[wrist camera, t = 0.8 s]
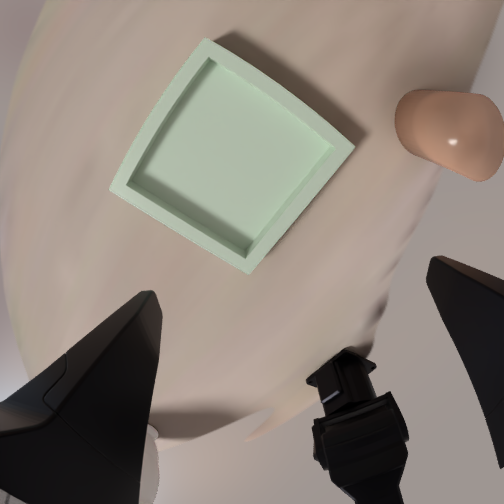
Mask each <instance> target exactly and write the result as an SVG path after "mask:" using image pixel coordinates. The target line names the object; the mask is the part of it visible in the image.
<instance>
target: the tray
mask: <svg viewBox="0 0 504 504" xmlns="http://www.w3.org/2000/svg"><path fill="white" fill-rule="evenodd" d="M354 148H355V146H354V145H353V144H352V143H351V142H350V141H348V140H347V139H346V138H345V137H344V136H343V135H342V134H341V133H340V132H338V131H337V130H336V129H335V128H334V127H333V126H331V125H330V124H329V123H328V122H327V121H326V120H324V119H323V118H322V117H321V116H320V115H318V114H317V113H316V112H315V111H314V110H312V109H311V108H310V107H309V106H307V105H306V104H305V103H303V102H302V101H301V100H300V99H298V98H297V97H296V96H294V95H293V94H292V93H290V92H289V91H288V90H286V89H285V88H284V87H282V86H281V85H280V84H278V83H277V82H275V81H274V80H273V79H271V78H270V77H268V76H267V75H265V74H264V73H262V72H261V71H259V70H258V69H256V68H255V67H253V66H252V65H250V64H249V63H247V62H246V61H244V60H243V59H241V58H239V57H238V56H236V55H235V54H233V53H231V52H230V51H228V50H226V49H225V48H223V47H221V46H220V45H218V44H216V43H214V42H213V41H211V40H209V39H207V38H204V39H203V40H202V41H201V43H200V44H199V45H198V46H197V48H196V49H195V50H194V51H193V53H192V54H191V55H190V57H189V58H188V59H187V61H186V62H185V63H184V65H183V66H182V67H181V69H180V70H179V71H178V73H177V74H176V76H175V77H174V78H173V80H172V81H171V83H170V84H169V86H168V87H167V88H166V90H165V91H164V93H163V94H162V96H161V97H160V99H159V100H158V102H157V103H156V105H155V107H154V108H153V110H152V111H151V113H150V115H149V116H148V118H147V119H146V121H145V123H144V124H143V126H142V128H141V129H140V131H139V133H138V135H137V136H136V138H135V140H134V142H133V143H132V145H131V147H130V149H129V151H128V152H127V154H126V156H125V158H124V160H123V162H122V164H121V166H120V168H119V170H118V172H117V174H116V176H115V178H114V180H113V182H112V184H111V186H110V188H109V191H111V192H113V193H114V194H116V195H117V196H119V197H121V198H122V199H124V200H125V201H127V202H129V203H130V204H132V205H133V206H135V207H137V208H138V209H140V210H141V211H143V212H145V213H146V214H148V215H149V216H151V217H153V218H154V219H156V220H158V221H159V222H161V223H162V224H164V225H166V226H167V227H169V228H171V229H172V230H174V231H176V232H177V233H179V234H180V235H182V236H184V237H185V238H187V239H189V240H190V241H192V242H194V243H195V244H197V245H199V246H200V247H202V248H204V249H205V250H207V251H209V252H210V253H212V254H214V255H215V256H217V257H219V258H220V259H222V260H224V261H225V262H227V263H229V264H230V265H232V266H234V267H236V268H237V269H239V270H241V271H242V272H244V273H246V274H247V275H249V274H250V273H251V272H252V271H253V270H254V268H255V267H256V266H257V265H258V264H259V262H260V261H261V260H262V259H263V258H264V257H265V255H266V254H267V253H268V252H269V251H270V249H271V248H272V247H273V246H274V245H275V243H276V242H277V241H278V240H279V239H280V238H281V236H282V235H283V234H284V233H285V232H286V230H287V229H288V228H289V227H290V226H291V224H292V223H293V222H294V221H295V220H296V218H297V217H298V216H299V215H300V214H301V212H302V211H303V210H304V209H305V208H306V206H307V205H308V204H309V203H310V202H311V200H312V199H313V198H314V197H315V196H316V194H317V193H318V192H319V191H320V190H321V188H322V187H323V186H324V185H325V183H326V182H327V181H328V180H329V179H330V177H331V176H332V175H333V174H334V173H335V171H336V170H337V169H338V168H339V166H340V165H341V164H342V163H343V162H344V160H345V159H346V158H347V157H348V155H349V154H350V153H351V152H352V151H353V149H354Z"/></svg>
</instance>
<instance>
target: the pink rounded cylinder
mask: <svg viewBox="0 0 504 504" xmlns="http://www.w3.org/2000/svg"><path fill="white" fill-rule="evenodd" d="M395 128H396V133H397V136H398V138H399V140H400V142H401V144H402V145H403V146H404V148H405V149H406V150H407V151H409V152H410V153H412V154H413V155H416V156H418V157H421V158H423V159H426V160H428V161H431V162H433V163H436V164H438V165H440V166H443V167H445V168H447V169H450V170H452V171H454V172H456V173H458V174H461V175H463V176H465V177H467V178H469V179H471V180H473V181H477V182H482V181H485V180H488V179H489V178H491V177H492V176H493V175H494V174H495V173H496V172H497V170H498V169H499V167H500V165H501V163H502V160H503V157H504V122H503V119H502V116H501V114H500V111H499V110H498V108H497V106H496V105H495V104H494V103H493V102H492V101H491V100H490V99H489V98H488V97H486V96H484V95H481V94H473V93H463V92H451V91H432V90H414V91H411V92H409V93H407V94H406V95H404V96H403V98H402V99H401V100H400V102H399V104H398V106H397V108H396V112H395Z"/></svg>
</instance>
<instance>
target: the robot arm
mask: <svg viewBox="0 0 504 504" xmlns="http://www.w3.org/2000/svg"><path fill="white" fill-rule="evenodd" d="M426 283H427V286H428V288H429V290H430V292H431V295H432V297H433V299H434V302H435V304H436V306H437V309H438V311H439V313H440V316H441V318H442V320H443V322H444V324H445V326H446V328H447V330H448V332H449V334H450V336H451V338H452V340H453V342H454V344H455V346H456V348H457V350H458V352H459V355H460V357H461V359H462V361H463V363H464V366H465V368H466V370H467V372H468V375H469V377H470V380H471V382H472V384H473V387H474V389H475V392H476V394H477V397H478V400H479V402H480V405H481V408H482V410H483V413H484V416H485V418H486V419H485V420H486V422H487V426H488V429H489V432H490V435H491V438H492V442H493V445H494V449H495V452H496V456H497V460H498V464H499V467H500V469H501V468H503V467H504V280H502V279H500V278H497V277H495V276H493V275H490V274H488V273H485V272H483V271H480V270H478V269H476V268H473V267H470V266H468V265H466V264H463V263H460V262H458V261H455V260H453V259H450V258H447V257H445V256H435V257H432V258H431V260H430V264H429V268H428V272H427V276H426ZM162 319H163V316H162V311H161V308H160V305H159V302H158V299H157V296H156V294H155V292H154V291H153V290H149V291H141V292H139V293H138V294H137V295H136V296H134V297H133V298H132V299H130V300H129V301H128V302H127V303H125V304H124V305H123V306H122V307H120V308H119V309H118V310H117V311H115V312H114V313H113V314H112V315H110V316H109V317H108V318H107V319H105V320H104V321H103V322H102V323H101V324H99V325H98V326H97V327H96V328H94V329H93V330H92V331H91V332H90V333H88V334H87V335H86V336H85V337H83V338H82V339H81V340H80V341H79V342H77V343H76V344H75V345H74V346H73V347H71V348H70V349H69V350H68V351H67V352H66V354H65V353H64V354H63V355H62V356H61V357H60V358H58V359H57V360H56V361H55V362H54V363H52V364H51V365H50V366H49V367H48V368H46V369H45V370H44V371H43V372H41V373H40V374H39V375H37V376H36V377H35V378H33V379H32V380H31V381H29V382H28V383H27V384H26V385H24V386H23V387H22V388H20V389H19V390H17V391H16V392H15V393H13V394H12V395H11V396H9V397H8V398H7V399H5V400H4V401H2V402H0V504H139V495H140V484H141V483H140V482H141V473H142V464H143V456H144V448H145V440H146V433H147V426H148V420H149V413H150V407H151V401H152V395H153V390H154V384H155V378H156V373H157V368H158V362H159V354H160V341H161V330H162ZM375 368H376V364H375V363H373V362H371V361H369V360H367V359H365V358H363V357H361V356H359V355H357V354H355V353H353V352H351V351H349V350H343V351H341V352H340V353H339V354H337V355H336V356H335V357H334V358H333V359H331V360H330V361H329V362H328V363H326V364H325V365H324V366H323V367H321V368H320V369H319V370H318V371H316V372H315V373H314V374H312V375H311V376H310V377H308V378H307V379H306V383H307V384H308V385H311V386H314V387H317V388H318V392H319V396H320V400H321V403H322V404H323V408H324V412H325V417H322V418H316V419H314V426H313V427H312V432H313V438H314V452H313V457H314V459H315V460H316V461H318V462H320V465H321V466H322V468H323V469H324V470H329V474H330V478H331V481H332V482H333V483H334V484H335V485H336V486H337V487H339V488H340V489H341V490H342V491H343V492H344V493H346V494H347V495H348V496H349V497H351V498H352V499H353V500H354V501H355V504H404V502H403V499H402V495H401V491H400V488H399V484H400V480H401V477H402V474H403V471H404V467H405V464H406V460H407V457H408V451H407V447H406V444H405V442H407V441H409V435H408V430H407V426H406V423H405V420H404V418H403V416H402V414H401V411H400V409H399V407H398V405H397V403H396V401H395V400H394V398H393V396H392V394H391V392H390V391H389V392H387V393H386V394H384V395H382V396H379V397H377V396H376V393H375V391H374V388H373V386H372V383H371V381H370V378H369V376H368V374H369V373H371V372H372V371H373V370H374V369H375Z"/></svg>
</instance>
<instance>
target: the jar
mask: <svg viewBox="0 0 504 504" xmlns="http://www.w3.org/2000/svg"><path fill="white" fill-rule="evenodd" d="M157 437H158V432H157V430H156V429H155V428H154V427H152V426H151V425H149V424H148V426H147V433H146V440H145V448H144V456H143V464H142V473H141V482H140V483H141V484H140V495H139V504H153V502H154V500H155V497H156V494H157V491H158V486H159V465H158V450H157V446H156V443H155V442H154V441H155V440H156V439H157Z"/></svg>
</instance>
